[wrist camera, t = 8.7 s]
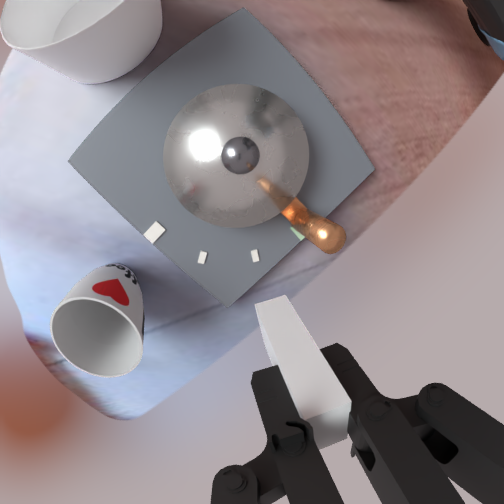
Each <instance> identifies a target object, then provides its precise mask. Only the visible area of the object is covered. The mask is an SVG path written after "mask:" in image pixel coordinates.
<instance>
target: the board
mask: <svg viewBox="0 0 504 504" xmlns="http://www.w3.org/2000/svg"><path fill="white" fill-rule="evenodd" d="M227 84H248V85H253V86H257V87H260V88H263V89H266V90H268V91H270V92H272V93H274V94H275V95H277V96H278V97H280V98H281V99H282V100H284V101H285V102H286V103H287V104H288V105H289V106H290V107H291V108H292V109H293V111H294V112H295V113H296V115H297V116H298V118H299V119H300V121H301V123H302V125H303V127H304V130H305V133H306V136H307V140H308V145H309V165H308V170H307V174H306V177H305V180H304V183H303V185H302V187H301V189H300V191H299V192H298V194H297V196H296V198H297V199H298V200H299V201H300V202H301V203H302V204H303V205H304V206H305V207H306V208H307V209H309V210H311V211H313V212H315V213H317V214H319V215H321V216H323V217H327V216H328V215H329V214H330V213H331V212H332V211H333V210H334V209H335V208H336V207H337V206H338V205H339V204H340V203H341V202H342V201H343V200H344V199H345V198H346V197H347V196H348V195H349V194H350V193H351V192H352V191H353V190H354V189H355V188H356V187H357V186H358V185H360V184H361V183H362V182H363V181H364V180H365V179H366V178H367V177H368V176H369V175H370V174H371V173H372V172H373V171H374V170H375V168H374V167H373V165H372V163H371V162H370V160H369V158H368V157H367V155H366V154H365V152H364V150H363V149H362V147H361V146H360V144H359V143H358V141H357V140H356V138H355V137H354V135H353V134H352V132H351V131H350V129H349V128H348V126H347V125H346V123H345V122H344V121H343V119H342V118H341V116H340V115H339V114H338V112H337V111H336V109H335V108H334V107H333V105H332V104H331V103H330V101H329V100H328V99H327V97H326V96H325V95H324V93H323V92H322V91H321V90H320V88H319V87H318V86H317V85H316V83H315V82H314V81H313V80H312V78H311V77H310V76H309V75H308V74H307V72H306V71H305V70H304V69H303V68H302V67H301V65H300V64H299V63H298V62H297V61H296V60H295V59H294V57H293V56H292V55H291V54H290V53H289V52H288V51H287V50H286V49H285V47H284V46H283V45H282V44H281V43H280V42H279V41H278V40H277V39H276V38H275V37H274V36H273V35H272V34H271V33H270V32H269V31H268V30H267V29H266V28H265V27H264V26H263V25H262V24H261V23H260V22H259V21H258V20H257V19H256V18H255V17H254V16H253V15H252V14H251V13H249V12H248V11H247V10H246V9H245V8H242V9H240V10H238V11H237V12H235V13H233V14H231V15H230V16H228V17H226V18H225V19H223V20H221V21H220V22H218V23H217V24H215V25H214V26H212V27H210V28H209V29H207V30H206V31H204V32H203V33H202V34H200V35H199V36H197V37H196V38H194V39H193V40H192V41H190V42H189V43H187V44H186V45H185V46H183V47H182V48H181V49H179V50H178V51H177V52H175V53H174V54H173V55H172V56H170V57H169V58H168V59H166V60H165V61H164V62H163V63H162V64H160V65H159V66H158V67H157V68H156V69H154V70H153V71H152V72H151V73H150V74H149V75H147V76H146V77H145V78H144V79H143V80H142V81H141V82H140V83H138V84H137V85H136V86H135V87H134V88H133V89H132V90H131V91H130V92H129V93H128V94H127V95H126V96H125V97H124V98H123V99H122V100H121V101H120V102H119V103H118V104H117V105H116V106H115V107H114V108H113V109H112V110H111V111H110V112H109V113H108V114H107V115H106V116H105V117H104V118H103V119H102V120H101V122H100V123H99V124H98V125H97V126H96V127H95V128H94V129H93V131H92V132H91V133H90V134H89V135H88V136H87V138H86V139H85V140H84V141H83V142H82V144H81V145H80V146H79V147H78V148H77V150H76V151H75V152H74V153H73V155H72V156H71V157H70V159H69V160H68V162H69V163H70V164H71V165H72V166H73V168H74V169H75V170H76V171H77V172H78V173H79V174H80V175H81V176H82V177H83V178H84V179H85V180H86V181H87V182H88V183H89V184H90V185H91V186H92V187H93V188H94V189H95V190H96V191H97V192H98V193H99V194H100V195H101V196H102V197H103V198H104V199H105V200H106V201H107V202H108V203H109V204H110V205H111V206H112V207H113V208H114V209H115V210H117V211H118V212H119V213H120V214H121V215H122V216H123V217H124V218H125V219H126V220H127V221H128V222H129V223H130V224H131V225H132V226H133V227H134V228H136V229H137V230H138V231H139V232H140V233H141V234H142V235H143V236H144V237H145V238H146V239H148V240H149V241H150V242H151V243H152V244H153V245H154V246H155V247H156V248H157V249H159V250H160V251H161V252H162V253H163V254H164V255H165V256H166V257H168V258H169V259H170V260H171V261H172V262H173V263H174V264H175V265H177V266H178V267H179V268H180V269H181V270H182V271H184V272H185V273H186V274H187V275H188V276H189V277H191V278H192V279H193V280H194V281H195V282H196V283H198V284H199V285H200V286H201V287H202V288H204V289H205V290H206V291H207V292H208V293H209V294H211V295H212V296H213V297H214V298H216V299H217V300H218V301H219V302H220V303H222V304H223V305H224V306H225V307H227V308H229V307H230V306H231V305H232V304H233V303H234V302H235V301H236V300H237V299H238V298H240V297H241V296H242V295H243V294H244V293H245V292H246V291H247V290H248V289H249V288H251V287H252V286H253V285H254V284H255V283H256V282H257V281H258V280H259V279H260V278H261V277H263V276H264V275H265V274H266V273H267V272H268V271H269V270H270V269H271V268H272V267H273V266H275V265H276V264H277V263H278V262H279V261H280V260H281V259H282V258H283V257H284V256H285V255H286V254H287V253H288V252H290V251H291V250H292V249H293V248H294V247H295V246H296V245H297V244H298V243H299V242H300V241H301V240H302V239H304V238H305V237H304V236H303V235H301V234H300V233H299V232H297V231H296V230H295V229H294V228H293V227H292V226H291V224H290V222H289V221H288V220H287V219H286V218H285V217H284V216H283V215H282V214H281V213H279V214H278V215H276V216H275V217H273V218H271V219H269V220H268V221H265V222H263V223H260V224H257V225H254V226H249V227H243V228H228V227H221V226H217V225H213V224H210V223H208V222H205V221H203V220H201V219H199V218H197V217H196V216H195V215H193V214H192V213H190V212H189V211H188V210H187V209H186V208H185V207H184V206H183V205H182V204H181V203H180V202H179V201H178V199H177V198H176V197H175V195H174V193H173V192H172V190H171V188H170V186H169V184H168V181H167V178H166V175H165V171H164V164H163V149H164V143H165V139H166V135H167V132H168V130H169V127H170V125H171V123H172V121H173V120H174V118H175V116H176V115H177V114H178V112H179V111H180V110H181V109H182V108H183V106H184V105H186V104H187V103H188V102H189V101H190V100H191V99H193V98H194V97H196V96H197V95H199V94H200V93H202V92H204V91H206V90H208V89H211V88H214V87H217V86H221V85H227Z"/></svg>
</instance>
